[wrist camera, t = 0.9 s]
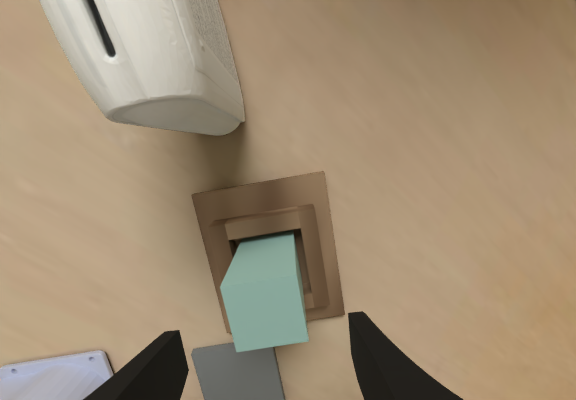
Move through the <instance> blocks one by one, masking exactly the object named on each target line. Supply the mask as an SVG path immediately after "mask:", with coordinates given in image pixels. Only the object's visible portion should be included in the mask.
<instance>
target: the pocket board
mask: <svg viewBox="0 0 576 400" xmlns="http://www.w3.org/2000/svg"><path fill="white" fill-rule="evenodd" d="M192 199H193V203H194V207H195V211H196V214H197V218H198V222H199V226H200V230H201V234H202V238H203V242H204V245H205V249H206V253H207V257H208V261H209V265H210V269H211V273H212V276H213V280H214V284H215V288H216V292H217V296H218V300H219V304H220V307H221V311H222V315H223V319H224V323H225V327H226V331H227V333H230V332H231V329H230V325H229V321H228V317H227V313H226V309H225V305H224V301H223V297H222V293H221V289H220V286H221V284H222V281H223V279H224V277H225V275H226V273H227V271H228V268H229V266H230V264H231V262H232V260H233V258H234V255H235V253H236V251H237V249H238V247H239V244H240V242H241V240H242V239H243V238H249V237H255V236H261V235H267V234H273V233H278V232H284V231H290V230H293V232H294V237H295V243H296V249H297V254H298V260H299V265H300V271H301V277H302V285H303V294H304V303H305V312H306V321H307V320H313V319H320V318H326V317H332V316H339V315H345V311H344V304H343V297H342V290H341V283H340V276H339V270H338V263H337V256H336V249H335V242H334V235H333V228H332V221H331V214H330V208H329V201H328V194H327V187H326V180H325V173H324V171H321V172H316V173H310V174H304V175H299V176H293V177H287V178H281V179H276V180H270V181H264V182H258V183H253V184H247V185H241V186H236V187H230V188H224V189H218V190H213V191H207V192H201V193H195V194H193V195H192Z"/></svg>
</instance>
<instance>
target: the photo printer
mask: <svg viewBox="0 0 576 400" xmlns="http://www.w3.org/2000/svg"><path fill="white" fill-rule="evenodd" d="M39 1H40V3H41V5H42V8H43V10H44V12H45V14H46V16H47V19H48V21H49V23H50V25H51V27H52V29H53V31H54V33H55V35H56V38H57V40H58V41H59V43H60V45H61V47H62V49H63V51H64V53H65V54H66V56H67V58H68V60H69V62H70V64H71V66H72V68H73V69H74V71H75V73H76V75H77V77H78V78H79V80H80V82H81V83H82V85H83V86H84V88H85V89H86V91H87V92H88V94H89V95H90V97H91V98H92V99H93V101H94V102H95V103H96V105H97V106H98V108H99V109H100V110H101V111H102V113H103V114H104V115H105V117H106V118H108V119H109V120H110V121H113V122H116V123H123V124H130V125H137V126H144V127H151V128H159V129H166V130H174V131H182V132H190V133H200V134H207V135H215V136H220V135H226V134H228V133H231V132H232V131H234V130H235V129H236V128H237V127H238V126H239V124H240V123H241V122H245V113H244V103H243V98H242V93H241V89H240V84H239V80H238V76H237V71H236V67H235V63H234V59H233V55H232V51H231V47H230V43H229V40H228V36H227V32H226V28H225V24H224V21H223V17H222V14H221V10H220V7H219V4H218V0H39Z"/></svg>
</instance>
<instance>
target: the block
mask: <svg viewBox="0 0 576 400" xmlns="http://www.w3.org/2000/svg"><path fill="white" fill-rule="evenodd" d="M220 289H221V293H222V297H223V301H224V305H225V309H226V313H227V317H228V321H229V325H230V329H231V333H232V337H233V341H234V345H235V348H236V352H242V351H249V350H255V349H262V348H268V347H275V346H281V345H288V344H294V343H301V342H307V341H309V339H308V330H307V321H306V312H305V303H304V294H303V285H302V277H301V271H300V265H299V260H298V254H297V249H296V243H295V237H294V232H293V230H290V231H284V232H278V233H273V234H267V235H261V236H255V237H249V238H243V239H242V240H241V242H240V244H239V247H238V249H237V251H236V253H235V255H234V258H233V260H232V262H231V264H230V266H229V268H228V271H227V273H226V275H225V277H224V279H223V281H222V284H221V286H220Z"/></svg>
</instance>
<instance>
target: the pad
mask: <svg viewBox="0 0 576 400" xmlns="http://www.w3.org/2000/svg"><path fill="white" fill-rule="evenodd" d="M191 356H192V359H193V362H194V366H195V369H196V373H197V376H198V379H199V383H200V386H201V389H202V393H203V396H204V399H205V400H285V396H284V391H283V386H282V382H281V377H280V373H279V368H278V363H277V359H276V354H275V350H274V347H268V348H262V349H255V350H249V351H242V352H236V348H235V345H234V343H228V344H222V345H215V346H209V347H203V348H196V349H193V351H192V353H191Z"/></svg>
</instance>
